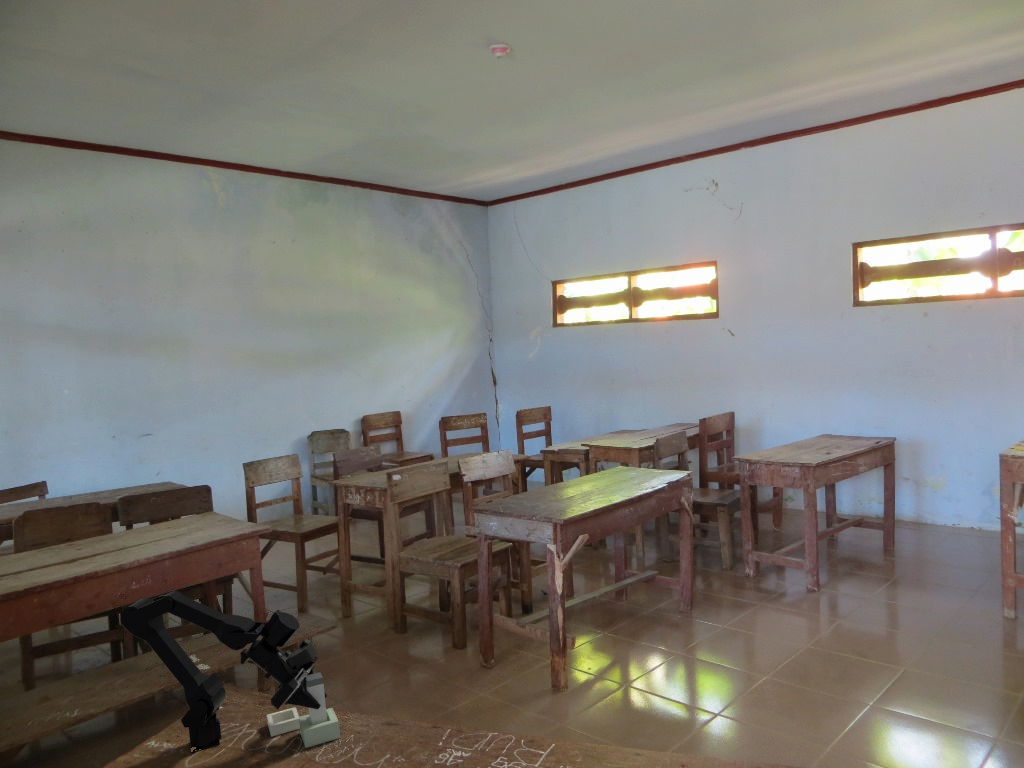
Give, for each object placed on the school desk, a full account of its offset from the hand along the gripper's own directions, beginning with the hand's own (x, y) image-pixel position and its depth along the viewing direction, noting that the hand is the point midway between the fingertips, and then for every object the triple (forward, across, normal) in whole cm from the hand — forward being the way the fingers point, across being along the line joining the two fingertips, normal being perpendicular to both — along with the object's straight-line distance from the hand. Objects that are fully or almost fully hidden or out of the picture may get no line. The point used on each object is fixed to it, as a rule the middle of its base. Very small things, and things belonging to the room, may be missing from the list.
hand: (322, 702), depth 175 cm
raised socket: (+5, 0, +6) cm, 8 cm away
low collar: (-3, +6, +14) cm, 16 cm away
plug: (+3, 0, +5) cm, 6 cm away
